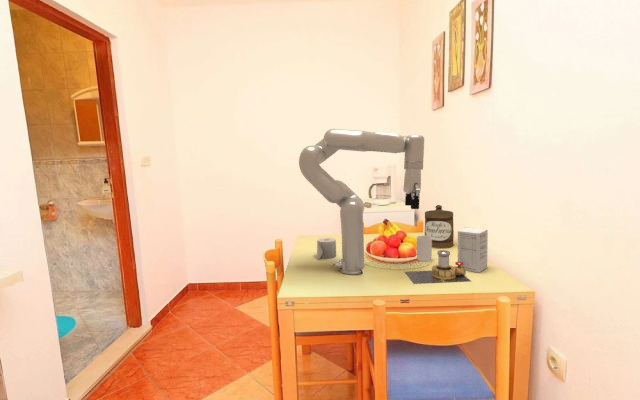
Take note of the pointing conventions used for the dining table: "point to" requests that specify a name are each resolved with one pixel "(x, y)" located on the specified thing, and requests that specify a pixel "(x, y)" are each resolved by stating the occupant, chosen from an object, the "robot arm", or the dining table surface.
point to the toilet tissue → (326, 248)
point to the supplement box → (473, 249)
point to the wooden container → (439, 227)
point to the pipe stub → (443, 260)
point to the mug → (424, 248)
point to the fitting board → (430, 279)
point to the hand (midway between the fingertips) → (411, 207)
